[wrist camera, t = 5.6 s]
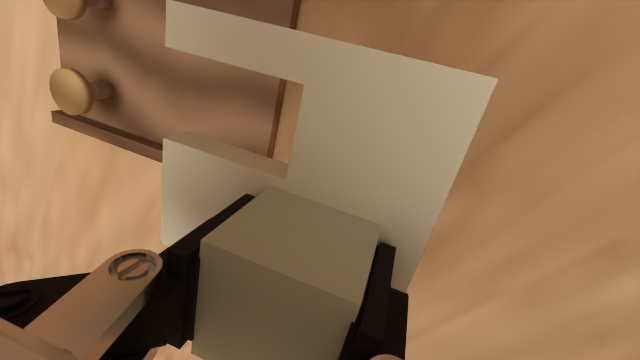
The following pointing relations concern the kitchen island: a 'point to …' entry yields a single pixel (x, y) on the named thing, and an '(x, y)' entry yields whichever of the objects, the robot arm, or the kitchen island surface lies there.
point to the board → (160, 77)
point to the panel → (312, 184)
